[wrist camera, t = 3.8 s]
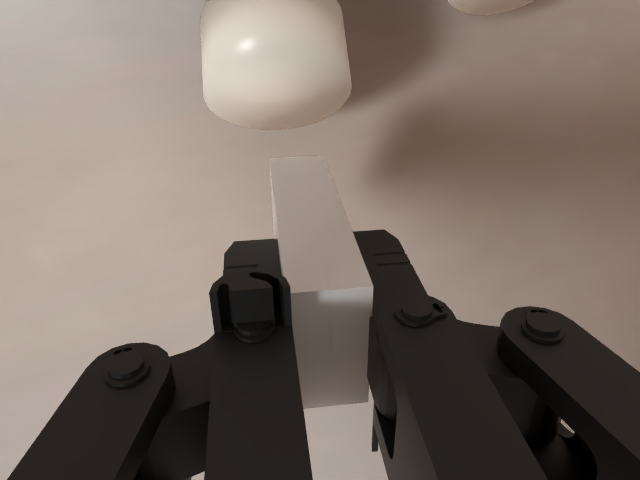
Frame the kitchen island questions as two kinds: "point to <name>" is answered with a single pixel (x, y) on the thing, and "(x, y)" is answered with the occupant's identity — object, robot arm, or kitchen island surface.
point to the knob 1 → (274, 61)
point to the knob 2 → (487, 6)
